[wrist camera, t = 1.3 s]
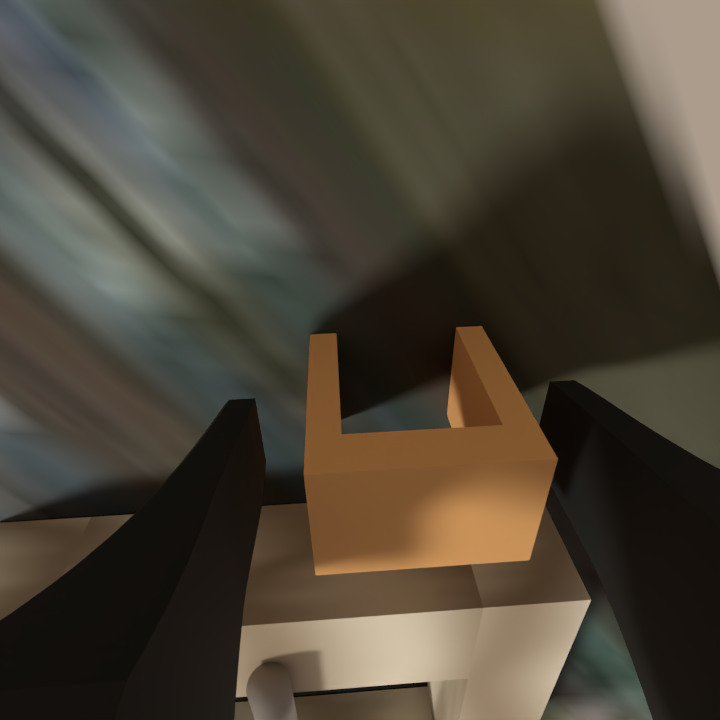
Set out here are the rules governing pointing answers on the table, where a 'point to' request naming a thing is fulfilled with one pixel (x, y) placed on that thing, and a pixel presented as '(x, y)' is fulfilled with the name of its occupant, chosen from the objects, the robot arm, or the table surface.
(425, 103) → the table surface
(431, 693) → the rectangular frame
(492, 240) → the table surface
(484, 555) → the bracket
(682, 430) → the table surface
